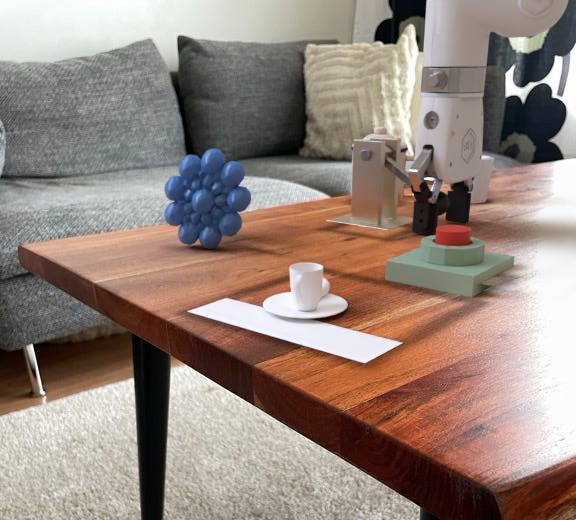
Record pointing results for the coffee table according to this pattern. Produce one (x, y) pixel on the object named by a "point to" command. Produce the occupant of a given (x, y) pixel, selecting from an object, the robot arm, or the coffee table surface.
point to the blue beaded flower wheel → (206, 199)
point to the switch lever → (404, 177)
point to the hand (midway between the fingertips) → (441, 227)
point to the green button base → (448, 267)
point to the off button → (453, 235)
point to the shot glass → (482, 180)
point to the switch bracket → (374, 186)
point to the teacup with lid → (403, 158)
